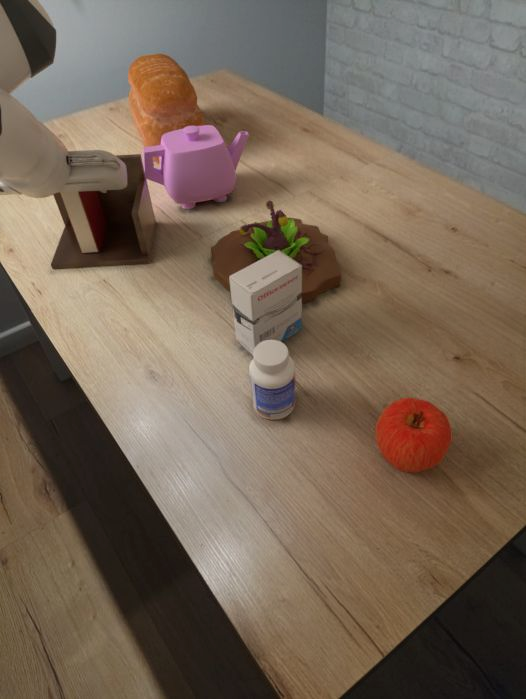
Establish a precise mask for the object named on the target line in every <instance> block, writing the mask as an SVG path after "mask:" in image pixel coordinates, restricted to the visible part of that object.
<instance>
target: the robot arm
mask: <svg viewBox="0 0 526 699" xmlns="http://www.w3.org/2000/svg"><path fill="white" fill-rule="evenodd" d="M56 50H57V29H56V28H55V26H54V24H53V21H52V19H51V17H50V16H49V13H48V12H47V10H46V9H45V8H44V6H43V5H42V4H41V3H40V1H39V0H0V196H13V195H18V196H21V195H23V196H25V197H28V198H33V199H45V198H49V197H51V196H54V195H53V194H55V193H58V192H79V191H95V192H96V193H106V192H107V190H121V189H124V188H125V187H127V169H126V165H125V163H124V162H123V161H122V160H120V159H119V158H118V157H116V155H115V154H114V153H112V152H110V151H107V150H102V149H86V150H85V149H83V150H68V148H67V146H66V144H64V142H63V141H62V140H61V139H60V138H59V137H58V135H56V134H55V133H54V132H52V131H51V129H50V128H49V127H47V126H46V125H45V124H44V123H43V122H41V121H40V120H39V119H37V117H36V116H35V115H34V114H33V112H31V110H30V109H28V107H26V105H24V104H23V103H22V102H20V101H19V100H18V99H17V98H15V96H13V95H12V94H13V93H14V92H15V91H16V90H17V89H18V88H19V87H20V86H22V85H23V84H24V83H25V82H27V81H28V80H29V79H30V78H34V77H35V76H37V75H38V74H40V73H41V72H43V71H44V70H45V69H47V68H49V67H50V66H51V65H53V64H54V61H55V56H56Z"/></svg>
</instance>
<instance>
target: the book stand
mask: <svg viewBox="0 0 526 699" xmlns="http://www.w3.org/2000/svg"><path fill="white" fill-rule="evenodd" d="M115 156H116V157H118V158H119V159H120V160H122V161H123V162H124V163H125V165H126V169H127V187H125V188H124V189H121V190H107V192H106V193H98V196H99V200H100V203H101V206H102V209H103V213H104V216H105V219H106V222H107V227H106V231H105V234H104V238H103V242H102V245H101V249H100V252H92V253H82V252H81V249H80V247H79V244H78V241H77V238H76V236H75V233H74V230H73V228H72V225H71V222H70V219H69V217H68V214H67V211H66V209H65V206H64V203H63V200H62V198H61V195H60V192H58V193H55V194H53V195H52V196H53V198H54V201H55V203H56V206H57V208H58V211H59V214H60V217H61V219H62V221H63V224H64V228H63V230H62V233H61V236H60V239H59V241H58V244H57V247H56V249H55V252H54V255H53V257H52V260H51V262H50V266H51V268H52V270H59V269H60V270H61V269H77V268H91V267H92V268H93V267H110V266H111V267H113V266H128V265H129V266H130V265H146V264H150V258H151V252H152V248H153V242H154V236H155V229H156V223H157V221H156V216H155V212H154V208H153V207H154V206H153V203H152V202H153V201H152V198H151V194H150V189H149V185H148V179H146V176H145V171H144V167H143V157H142V154H141V153H135V154H119V155H117V154H116V155H115Z"/></svg>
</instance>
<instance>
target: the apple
mask: <svg viewBox="0 0 526 699" xmlns="http://www.w3.org/2000/svg"><path fill="white" fill-rule="evenodd" d="M452 434H453V433H452V427H451V423H450V421H449V419H448V417H447V415H446V414H445V413H444V412H443V410H442V409H440V408H438V407H437V406H436V405H435V404H433V403H431V402H430V401H428V400H425V399H421V398H415V397H404V398H399V399H396V400H395V401H393V402H391V403H390V404H389V405H388V406H386V407H385V408H384V410H383V411H382V413H381V414H380V416H379V417H378V420H377V423H376V426H375V439H376V440H375V441H376V445H377V447H378V450H379V453H380V454H381V455H382V457H383V458H384V459H385V460H386V462H387V463H388V464H389V465H390V466H392V467H393V468H394V469H396V470H399V471H401V472H405V473H420V472H424V471H428V470H430V469H432V468H434V467H436V466H438V464H440V463H441V462H442V461H443V459H444V458H445V457H446V455H447V453H448V451H449V448H450V446H451V443H452V437H453V436H452Z"/></svg>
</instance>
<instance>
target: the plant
mask: <svg viewBox="0 0 526 699" xmlns="http://www.w3.org/2000/svg"><path fill="white" fill-rule="evenodd" d="M265 207H266V209H268V210H269V211H270V214H269V215H270V219H271V220H266V221H260V222H258V221H254V222H252V223H247V224H244V225H241V226H240V227H239V229H235V230H232V231H230V232H229V233H228V234H225V235H224V236H222V237H220V238H219V239H218V240H217V242H216V243H215V244H214V245H212V246H211V247H210V256H211V260H212V261H214V262H213V263H212V272H213V276H214V278H215V279H216V281H218V282H219V283H220V285H221V286H222V287H223V288H224V289H225V290H226V291H228V292H229V294H231V289H230V281H229V276H231V275H232V274H234V273H236V272H238V271H240V270H242V269H244V268H246V267H248V266H250V265H251V264H253V263H255V262H257V261H259V260H261V259H263V258H265V257H266V256H268V255H270V254H272V253H274V252H276V251H277V250H280V251H281V252H283V253H284V254H286V255H287V256H289V257H290V258H292V259H293V260H295V261H296V262H298V263H299V264H301V265H302V305H304V304H306V303H311V302H314V301H315V299H316V298H318V297H319V295H320V294H321V293H323V292H326V291H328V290H331V289H333V288H337V287H340V286H341V284H342V269H341V265H340V263H339V261H338V260H337V256H336V252H335V251H336V250H334V248H333V247H332V246H331V245H330V244H329V235H328V234H324V233H322V232H321V229H320V227H319V226H318V225H314V224H306V223H303V221H302V219H300V218H295V217H288V216H287V214H285V213H284V211H282V209H278V210H276V211H275V208H274V207H275V203H274V202H273V201H272V200H268V201H266V203H265Z"/></svg>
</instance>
